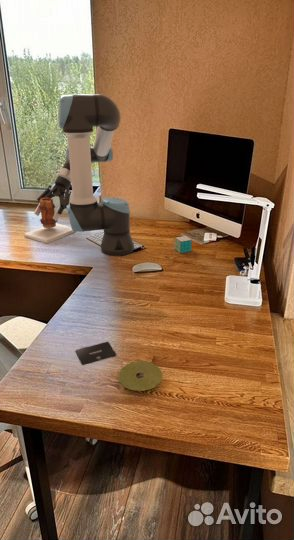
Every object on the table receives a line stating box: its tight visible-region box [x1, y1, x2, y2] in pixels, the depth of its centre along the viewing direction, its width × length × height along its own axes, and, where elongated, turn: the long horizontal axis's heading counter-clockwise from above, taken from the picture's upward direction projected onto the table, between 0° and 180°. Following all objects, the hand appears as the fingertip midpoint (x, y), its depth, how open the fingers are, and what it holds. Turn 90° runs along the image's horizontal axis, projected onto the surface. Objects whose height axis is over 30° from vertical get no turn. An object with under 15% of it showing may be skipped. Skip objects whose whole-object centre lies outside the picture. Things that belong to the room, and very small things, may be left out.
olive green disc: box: [117, 360, 163, 392], centre depth 103 cm, size 11×11×2 cm
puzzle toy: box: [174, 235, 193, 254], centre depth 179 cm, size 6×6×6 cm
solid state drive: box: [75, 341, 117, 366], centre depth 113 cm, size 7×10×1 cm
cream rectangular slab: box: [23, 222, 76, 244], centre depth 199 cm, size 16×20×2 cm
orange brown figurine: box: [38, 198, 59, 228], centre depth 195 cm, size 15×8×15 cm, turn 22°
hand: (45, 217), depth 194 cm, fingers closed on orange brown figurine, 12 cm apart
